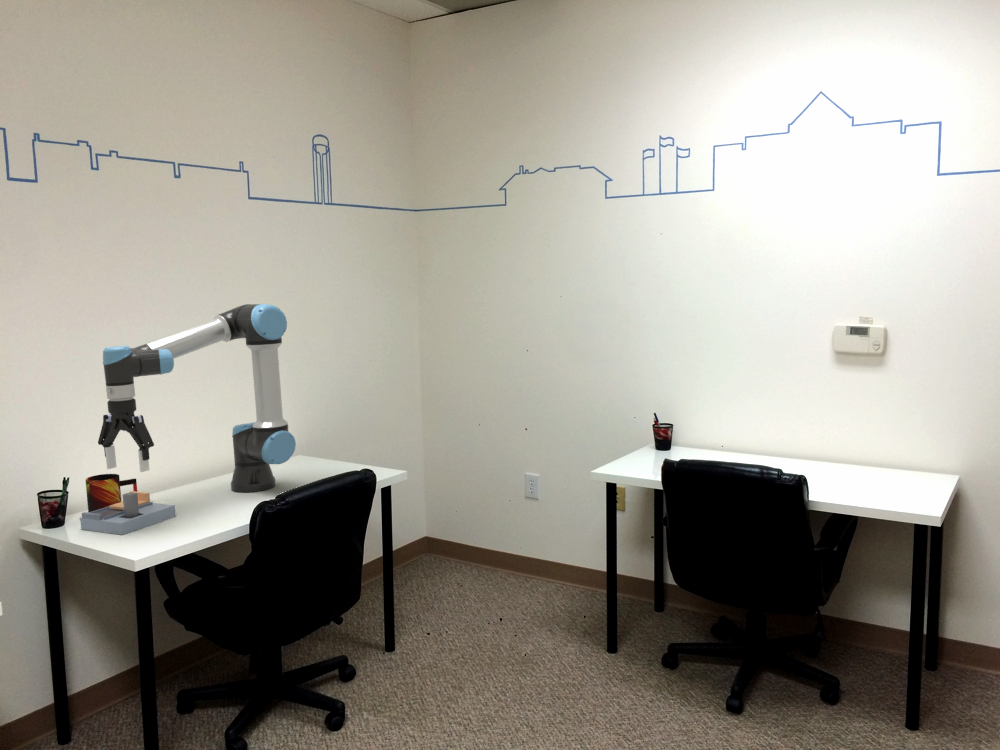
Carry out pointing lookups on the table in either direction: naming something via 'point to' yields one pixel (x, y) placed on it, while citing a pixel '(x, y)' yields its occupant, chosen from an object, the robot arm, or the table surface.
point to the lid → (142, 499)
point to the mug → (105, 490)
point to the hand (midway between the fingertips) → (128, 469)
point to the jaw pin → (130, 505)
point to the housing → (118, 524)
